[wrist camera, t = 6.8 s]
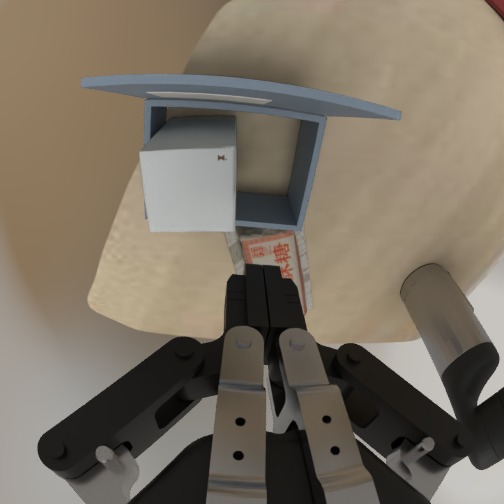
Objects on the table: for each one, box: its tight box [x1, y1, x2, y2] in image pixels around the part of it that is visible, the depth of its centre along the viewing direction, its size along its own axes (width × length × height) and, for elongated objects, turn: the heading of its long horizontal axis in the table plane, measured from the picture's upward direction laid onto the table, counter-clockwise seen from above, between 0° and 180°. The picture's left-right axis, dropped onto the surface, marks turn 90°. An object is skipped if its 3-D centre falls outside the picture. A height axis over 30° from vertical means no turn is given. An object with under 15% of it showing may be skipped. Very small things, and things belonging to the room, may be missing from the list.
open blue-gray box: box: [144, 98, 327, 231], centre depth 30 cm, size 16×12×7 cm
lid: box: [81, 74, 401, 120], centre depth 18 cm, size 16×12×1 cm
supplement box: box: [139, 116, 237, 232], centre depth 28 cm, size 7×7×13 cm
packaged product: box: [224, 226, 313, 315], centre depth 42 cm, size 18×5×10 cm
